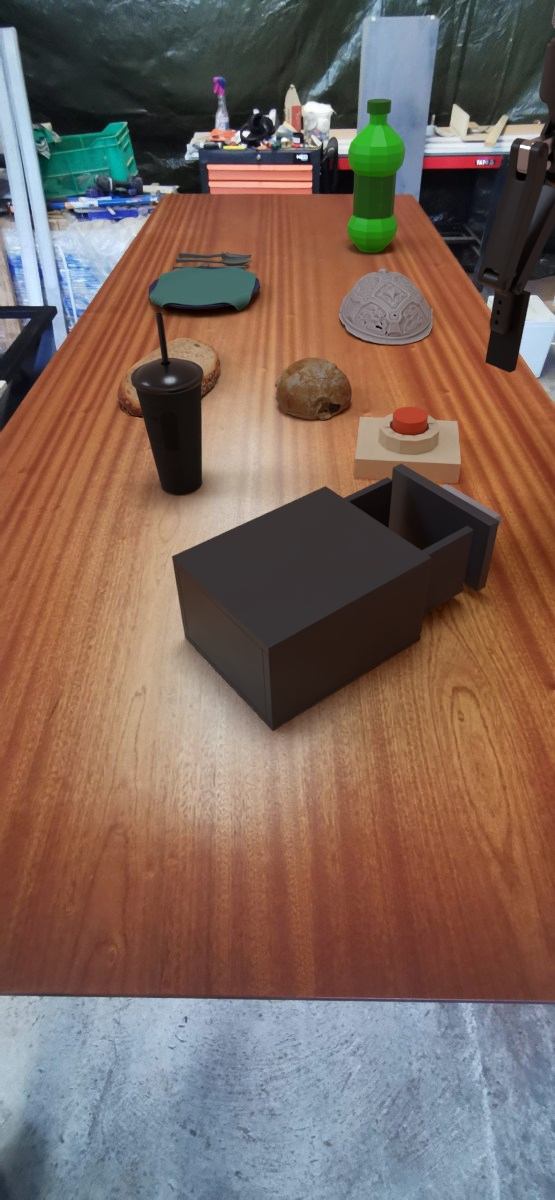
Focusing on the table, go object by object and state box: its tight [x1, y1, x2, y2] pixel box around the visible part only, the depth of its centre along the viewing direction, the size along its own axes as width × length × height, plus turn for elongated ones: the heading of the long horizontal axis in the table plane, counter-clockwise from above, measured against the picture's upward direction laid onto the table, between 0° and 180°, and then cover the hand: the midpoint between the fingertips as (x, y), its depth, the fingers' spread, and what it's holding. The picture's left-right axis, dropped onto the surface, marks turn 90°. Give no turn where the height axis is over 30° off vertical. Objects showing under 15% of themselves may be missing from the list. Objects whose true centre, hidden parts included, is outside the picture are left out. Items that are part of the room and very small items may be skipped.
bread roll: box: [274, 357, 353, 421], centre depth 99 cm, size 10×10×8 cm
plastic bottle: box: [347, 98, 406, 254], centre depth 140 cm, size 10×10×25 cm
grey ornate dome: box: [338, 267, 434, 346], centre depth 121 cm, size 16×25×7 cm, turn 178°
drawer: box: [343, 464, 503, 616], centre depth 69 cm, size 20×12×8 cm, turn 127°
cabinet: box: [171, 486, 432, 731], centre depth 64 cm, size 17×14×10 cm
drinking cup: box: [131, 311, 204, 496], centre depth 80 cm, size 8×8×20 cm
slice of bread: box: [116, 337, 222, 417], centre depth 105 cm, size 18×18×4 cm
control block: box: [353, 413, 462, 484], centre depth 88 cm, size 12×10×4 cm
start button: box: [392, 406, 429, 436], centre depth 86 cm, size 4×4×2 cm
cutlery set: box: [147, 251, 261, 312], centre depth 135 cm, size 20×30×2 cm, turn 176°
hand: (538, 350), depth 66 cm, fingers open, 9 cm apart
